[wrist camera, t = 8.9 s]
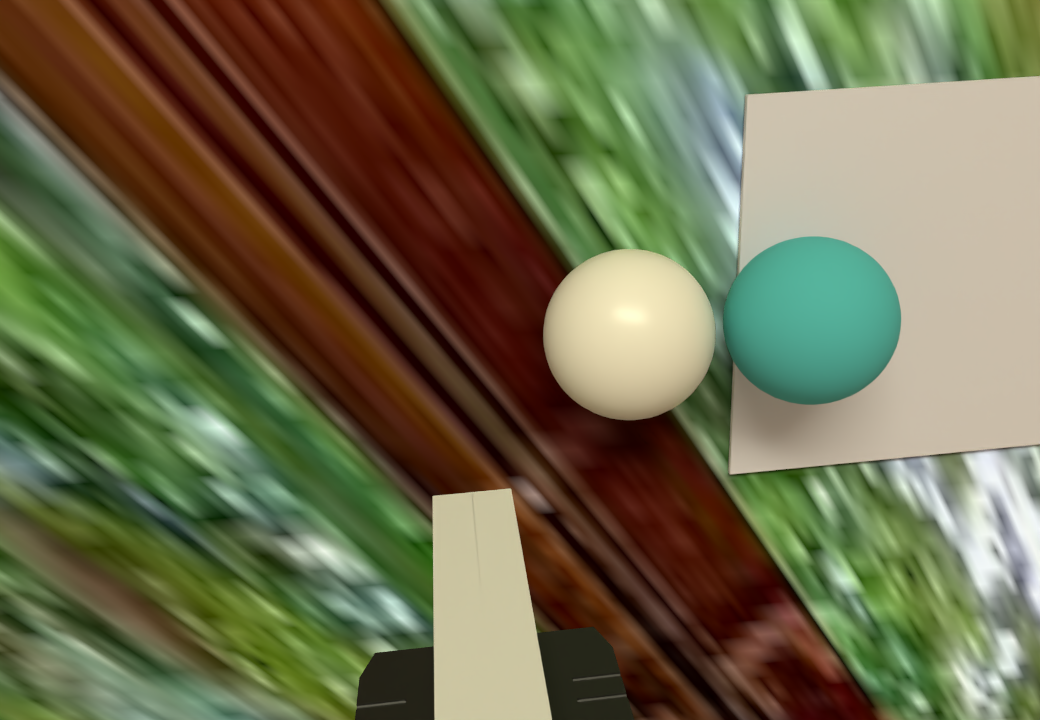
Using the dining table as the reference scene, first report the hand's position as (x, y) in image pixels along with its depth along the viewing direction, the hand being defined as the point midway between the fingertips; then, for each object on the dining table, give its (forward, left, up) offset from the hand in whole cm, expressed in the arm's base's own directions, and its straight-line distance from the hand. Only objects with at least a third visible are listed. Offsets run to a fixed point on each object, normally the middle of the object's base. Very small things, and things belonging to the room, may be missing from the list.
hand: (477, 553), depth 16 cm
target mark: (-17, 0, -14) cm, 22 cm away
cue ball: (-6, 0, -11) cm, 12 cm away
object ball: (-12, 0, -11) cm, 16 cm away
